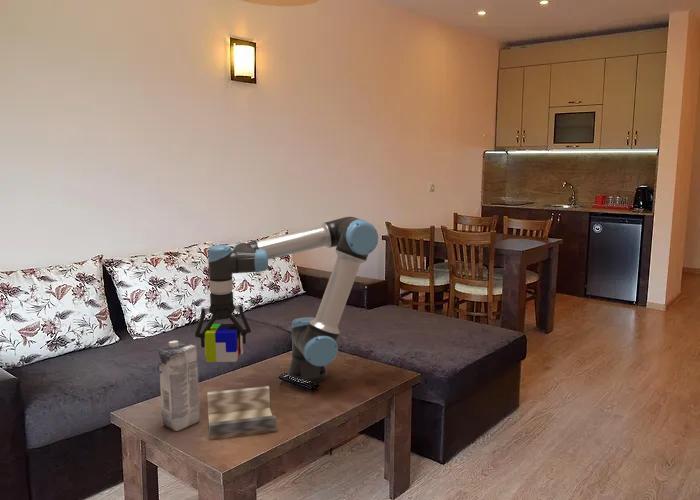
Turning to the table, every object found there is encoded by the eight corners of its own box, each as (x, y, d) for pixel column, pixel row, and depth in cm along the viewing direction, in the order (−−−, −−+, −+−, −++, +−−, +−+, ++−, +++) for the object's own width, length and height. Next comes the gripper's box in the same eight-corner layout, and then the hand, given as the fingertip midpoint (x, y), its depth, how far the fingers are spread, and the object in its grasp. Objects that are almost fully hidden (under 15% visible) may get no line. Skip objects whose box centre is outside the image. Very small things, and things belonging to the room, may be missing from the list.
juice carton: (203, 421, 188) (200, 341, 183) (176, 434, 179) (171, 350, 175) (186, 414, 193) (182, 335, 188) (158, 425, 185) (154, 344, 180)
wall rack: (269, 408, 197) (268, 386, 196) (276, 431, 181) (275, 407, 180) (208, 415, 192) (207, 392, 191) (210, 439, 176) (209, 414, 175)
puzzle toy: (236, 361, 194) (235, 332, 193) (206, 362, 194) (204, 333, 192) (241, 351, 204) (240, 323, 202) (212, 351, 204) (211, 324, 202)
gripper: (255, 286, 202) (257, 347, 206) (185, 291, 196) (188, 354, 200) (258, 292, 195) (260, 354, 198) (184, 296, 189) (188, 361, 192)
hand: (224, 354), depth 199 cm, fingers closed on puzzle toy, 11 cm apart
